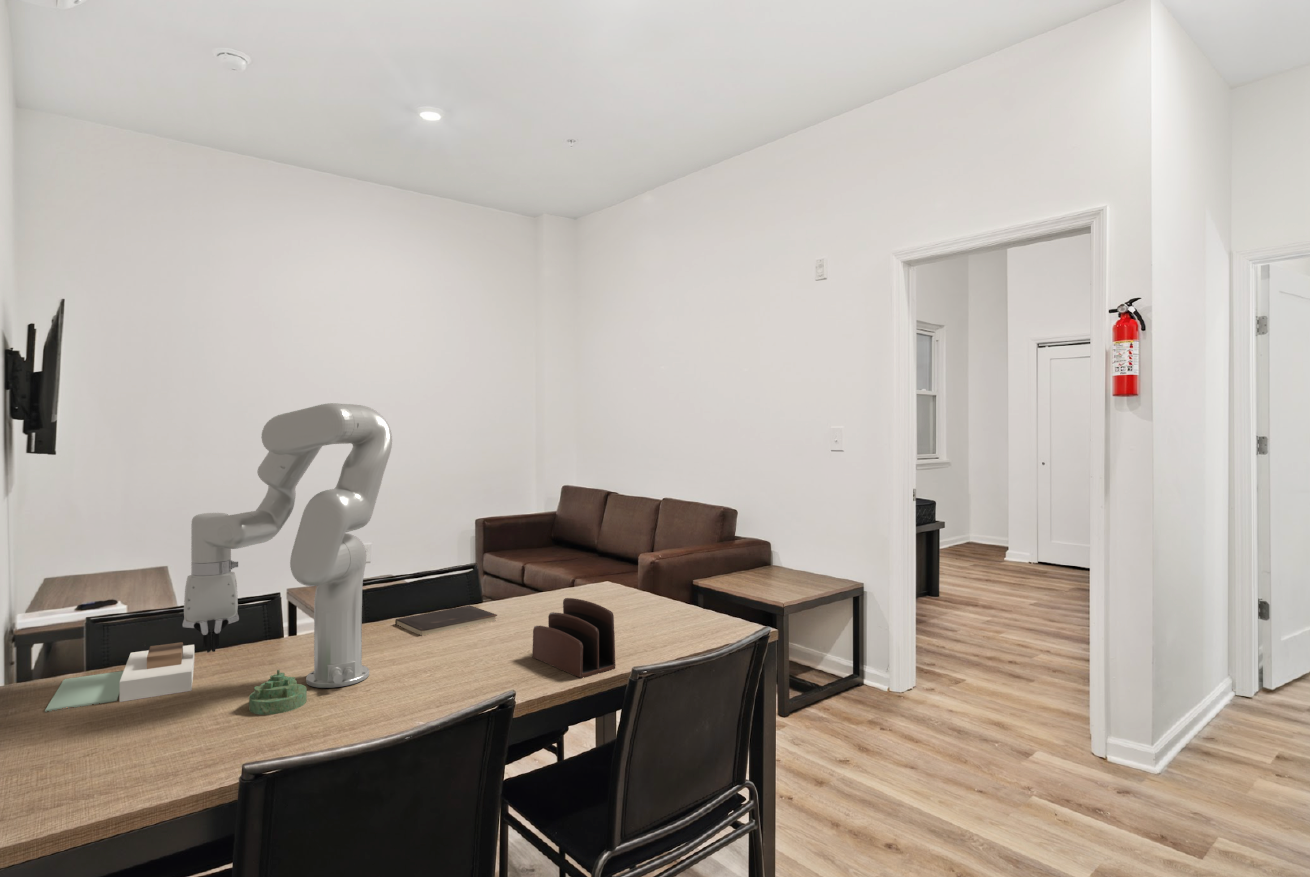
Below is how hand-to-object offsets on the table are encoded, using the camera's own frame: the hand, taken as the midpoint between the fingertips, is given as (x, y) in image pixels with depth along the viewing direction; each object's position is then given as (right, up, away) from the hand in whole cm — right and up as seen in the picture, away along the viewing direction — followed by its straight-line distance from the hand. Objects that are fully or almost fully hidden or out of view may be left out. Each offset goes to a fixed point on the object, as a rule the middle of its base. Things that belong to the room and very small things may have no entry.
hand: (211, 650), depth 158 cm
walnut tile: (-7, 0, -4) cm, 8 cm away
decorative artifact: (+25, -6, -18) cm, 31 cm away
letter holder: (+80, -6, +8) cm, 81 cm away
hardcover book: (+40, -6, +43) cm, 59 cm away
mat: (-18, -5, -11) cm, 22 cm away
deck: (-8, -5, -5) cm, 11 cm away
